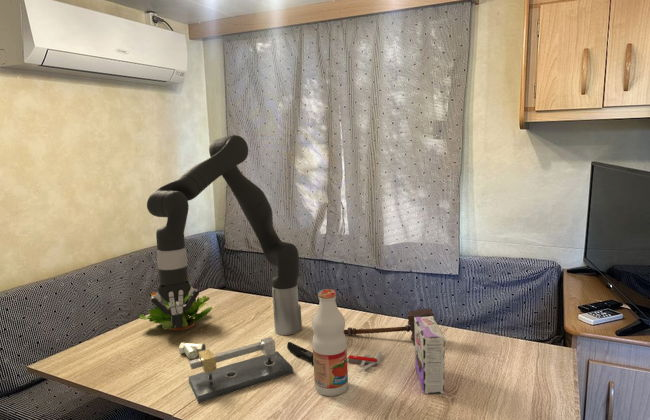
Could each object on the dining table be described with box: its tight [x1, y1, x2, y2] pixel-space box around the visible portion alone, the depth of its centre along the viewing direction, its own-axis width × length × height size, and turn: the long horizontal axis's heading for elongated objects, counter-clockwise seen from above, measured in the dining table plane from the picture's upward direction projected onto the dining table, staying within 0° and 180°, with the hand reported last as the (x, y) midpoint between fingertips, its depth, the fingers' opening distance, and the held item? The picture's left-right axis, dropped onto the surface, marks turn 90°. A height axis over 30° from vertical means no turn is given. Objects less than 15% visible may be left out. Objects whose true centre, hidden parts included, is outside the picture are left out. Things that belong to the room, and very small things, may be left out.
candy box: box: [414, 316, 446, 395], centre depth 122 cm, size 14×6×16 cm, turn 178°
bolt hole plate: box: [188, 350, 294, 404], centre depth 129 cm, size 28×12×2 cm, turn 119°
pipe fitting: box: [178, 342, 207, 361], centre depth 144 cm, size 8×4×7 cm
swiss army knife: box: [347, 351, 382, 373], centre depth 134 cm, size 12×14×2 cm
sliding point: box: [198, 348, 217, 380], centre depth 126 cm, size 3×7×7 cm, turn 29°
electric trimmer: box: [286, 341, 314, 367], centre depth 140 cm, size 4×16×3 cm, turn 41°
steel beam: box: [189, 336, 276, 370], centre depth 129 cm, size 24×6×7 cm, turn 119°
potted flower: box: [139, 285, 213, 332], centre depth 168 cm, size 25×24×18 cm
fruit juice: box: [311, 288, 349, 397], centre depth 120 cm, size 9×9×28 cm
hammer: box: [344, 307, 435, 346], centre depth 150 cm, size 7×33×10 cm, turn 73°
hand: (177, 326), depth 119 cm, fingers closed
